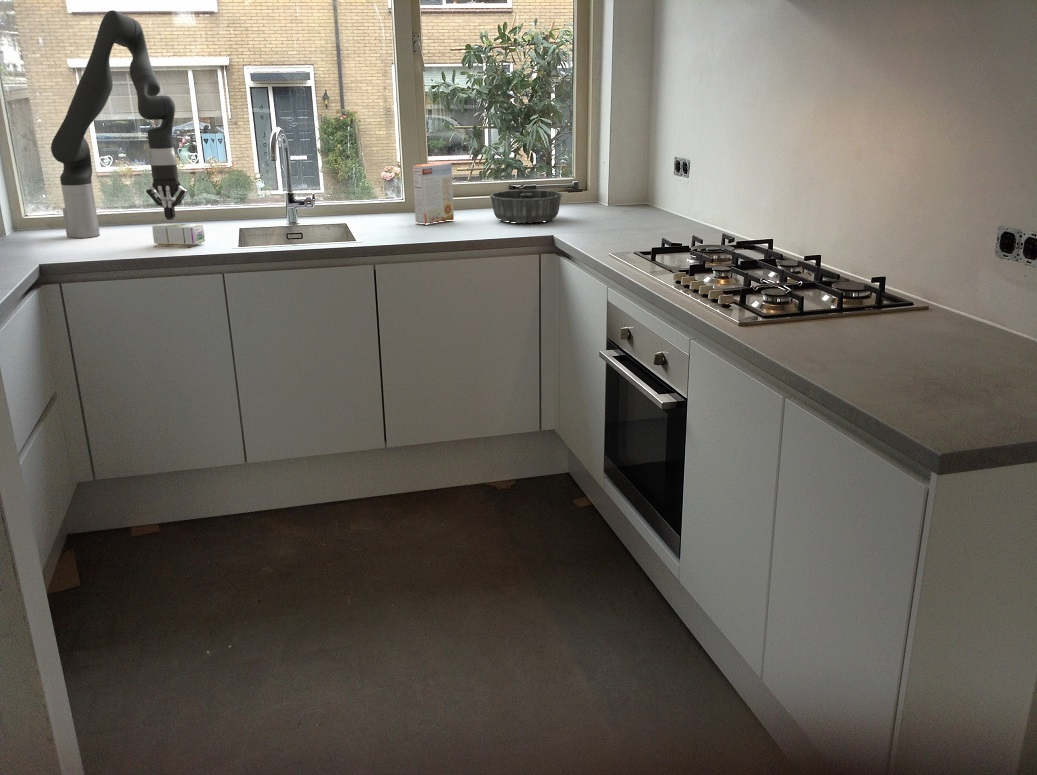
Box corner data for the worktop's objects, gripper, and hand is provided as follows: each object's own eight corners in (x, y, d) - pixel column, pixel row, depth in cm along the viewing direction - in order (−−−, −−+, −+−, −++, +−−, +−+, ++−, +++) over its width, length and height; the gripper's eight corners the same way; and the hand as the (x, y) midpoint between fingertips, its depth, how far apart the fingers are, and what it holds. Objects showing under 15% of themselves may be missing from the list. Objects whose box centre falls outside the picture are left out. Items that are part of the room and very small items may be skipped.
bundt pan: (512, 229, 314) (512, 199, 311) (477, 219, 336) (477, 192, 332) (576, 223, 326) (576, 194, 323) (538, 214, 348) (538, 188, 345)
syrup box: (153, 244, 285) (196, 245, 282) (151, 225, 283) (194, 227, 280) (163, 241, 290) (205, 242, 287) (161, 222, 288) (203, 224, 285)
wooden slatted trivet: (153, 247, 282) (153, 245, 282) (170, 241, 293) (170, 239, 293) (189, 247, 281) (189, 246, 281) (205, 241, 292) (204, 239, 292)
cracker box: (443, 219, 334) (441, 162, 328) (454, 221, 331) (452, 163, 324) (414, 224, 325) (411, 164, 318) (425, 225, 321) (422, 165, 314)
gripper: (137, 164, 276) (144, 221, 282) (178, 164, 275) (185, 221, 281) (148, 162, 283) (155, 217, 289) (189, 162, 282) (195, 217, 288)
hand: (170, 219), depth 285 cm, fingers closed
